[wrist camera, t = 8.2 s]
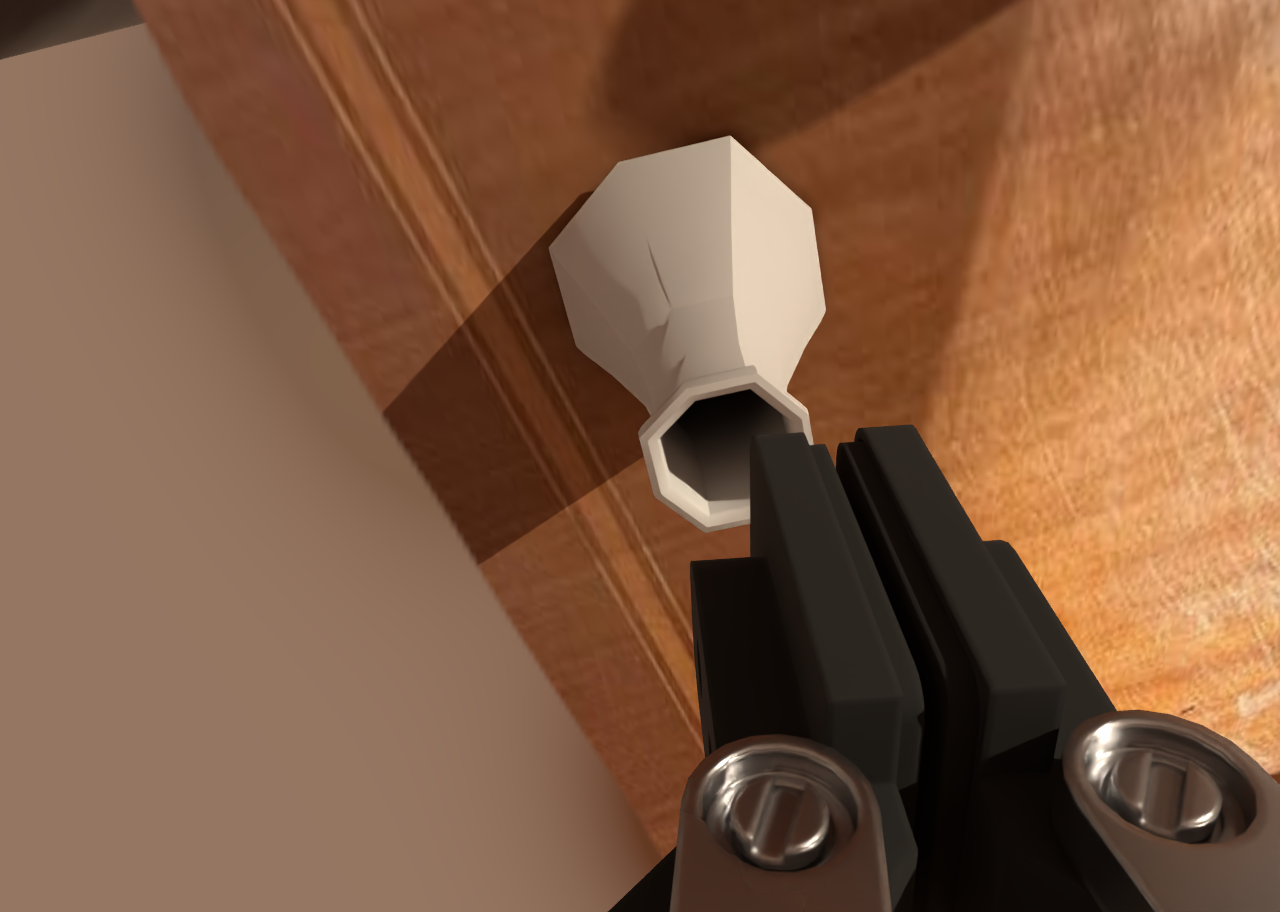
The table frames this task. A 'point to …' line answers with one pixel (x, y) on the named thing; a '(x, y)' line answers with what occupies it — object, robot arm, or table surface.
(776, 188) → the flask
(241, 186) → the table surface
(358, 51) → the table surface
